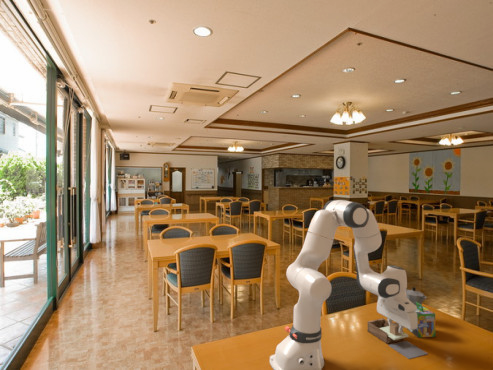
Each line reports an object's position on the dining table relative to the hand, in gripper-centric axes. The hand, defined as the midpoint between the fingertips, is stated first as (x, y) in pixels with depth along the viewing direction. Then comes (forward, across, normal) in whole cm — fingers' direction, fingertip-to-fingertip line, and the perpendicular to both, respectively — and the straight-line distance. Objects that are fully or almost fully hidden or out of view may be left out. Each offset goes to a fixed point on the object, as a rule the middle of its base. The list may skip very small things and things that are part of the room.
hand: (395, 330), depth 137 cm
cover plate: (+2, -2, 0) cm, 3 cm away
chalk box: (+6, -2, +19) cm, 20 cm away
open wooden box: (+6, -6, 0) cm, 9 cm away
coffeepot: (+6, -14, +27) cm, 31 cm away
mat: (+6, +7, 0) cm, 9 cm away
